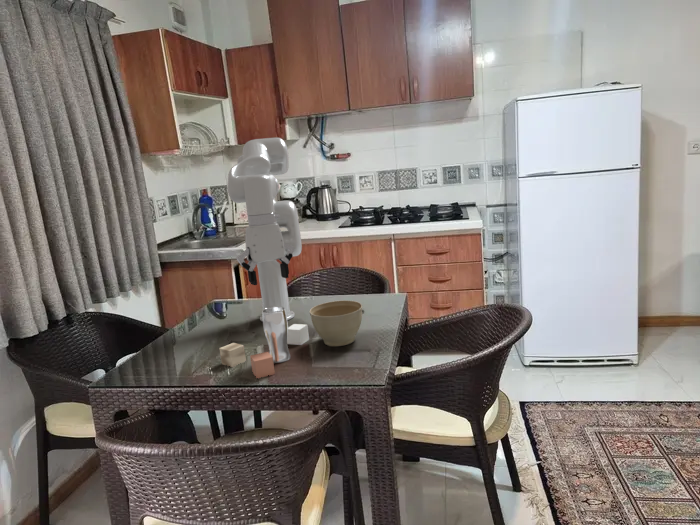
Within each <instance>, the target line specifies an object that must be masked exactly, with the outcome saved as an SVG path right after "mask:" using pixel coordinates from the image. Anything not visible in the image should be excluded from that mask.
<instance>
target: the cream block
mask: <svg viewBox="0 0 700 525" xmlns="http://www.w3.org/2000/svg"><path fill="white" fill-rule="evenodd" d="M308 326H309V325H308V324H302V323H293V324H292V325H290V326H288V338H287V345H294V346H295V345H298V346H302V345H303V344H305V343H306V342H308V341H309V340H310V336H309V327H308Z"/></svg>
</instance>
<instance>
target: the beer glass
mask: <svg viewBox="0 0 700 525" xmlns="http://www.w3.org/2000/svg"><path fill="white" fill-rule="evenodd" d="M261 315H262V318H263V322H262V326H263V327H262V328H263V332H264V334H265V338H266V342H267V345H268V350H269V353H270V355H271V356H272V357H273V363H274V364H279V363H280V364H281V363H285V362H287V361H289V360H290V359H291V354H290V351H289V348H288V347H289V346H288V344H287V338H288V327H289V325H288V324H289V323H288V320H287V316H286V311H285V308H284V307H281V306H275V307H269V308H266V309H264V310H263V309H262V310H261Z"/></svg>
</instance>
